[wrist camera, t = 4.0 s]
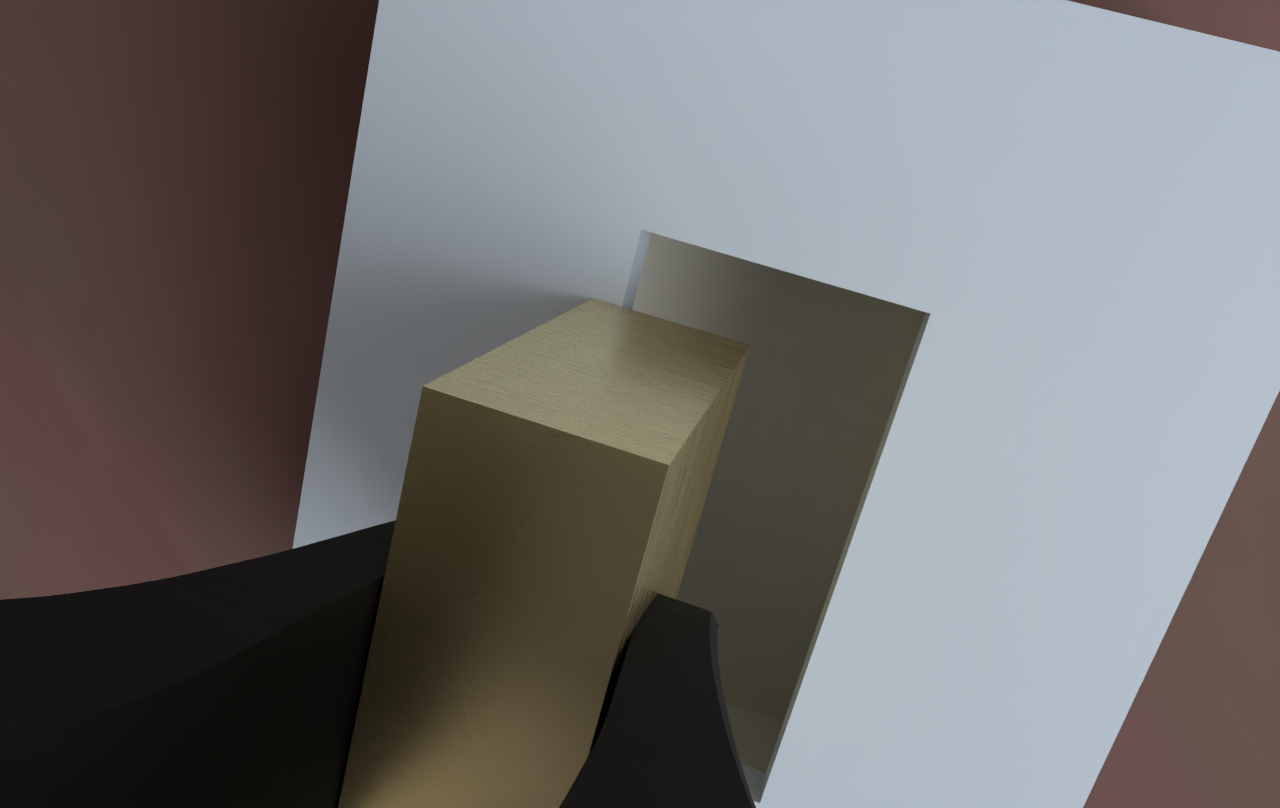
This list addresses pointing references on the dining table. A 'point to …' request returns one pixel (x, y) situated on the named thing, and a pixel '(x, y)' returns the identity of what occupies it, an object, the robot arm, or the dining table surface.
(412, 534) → the tan wooden block
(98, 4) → the dining table surface
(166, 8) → the dining table surface
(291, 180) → the dining table surface
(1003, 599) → the tissue box
